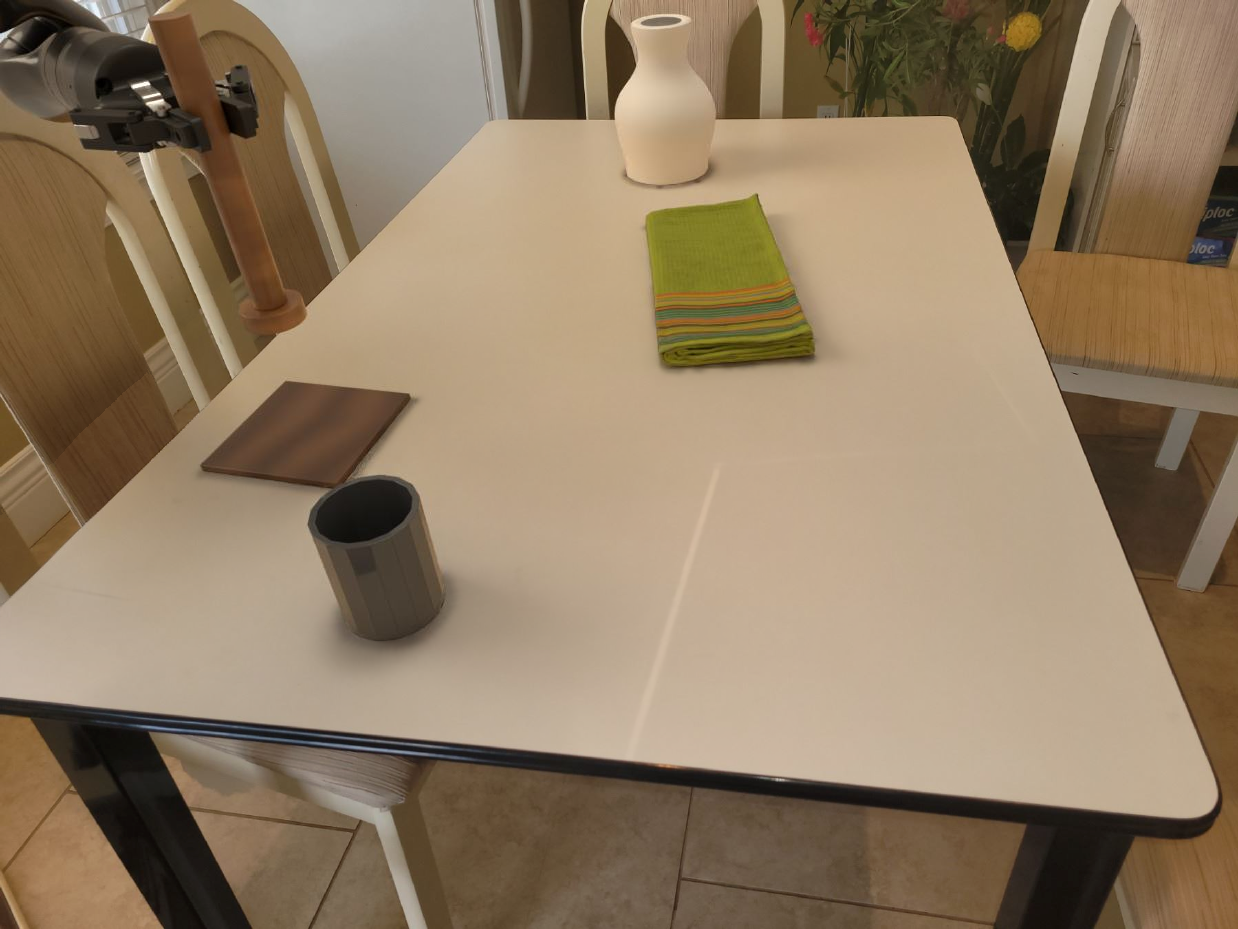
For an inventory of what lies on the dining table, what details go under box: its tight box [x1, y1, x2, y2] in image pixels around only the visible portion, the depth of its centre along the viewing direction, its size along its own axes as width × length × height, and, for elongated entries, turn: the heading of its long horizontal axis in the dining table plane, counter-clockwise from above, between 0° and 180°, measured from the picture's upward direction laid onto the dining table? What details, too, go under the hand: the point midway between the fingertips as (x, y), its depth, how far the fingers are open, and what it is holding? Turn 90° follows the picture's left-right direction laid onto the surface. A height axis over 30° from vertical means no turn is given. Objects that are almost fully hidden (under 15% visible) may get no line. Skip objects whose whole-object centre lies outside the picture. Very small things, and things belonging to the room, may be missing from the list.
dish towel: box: [645, 192, 816, 367], centre depth 100 cm, size 15×36×3 cm, turn 1°
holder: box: [306, 474, 446, 641], centre depth 63 cm, size 7×7×9 cm
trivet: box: [199, 380, 411, 489], centre depth 83 cm, size 14×14×1 cm
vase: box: [614, 13, 717, 186], centre depth 124 cm, size 14×14×20 cm
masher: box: [147, 10, 308, 336], centre depth 63 cm, size 5×5×22 cm
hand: (225, 128), depth 59 cm, fingers closed on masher, 2 cm apart
